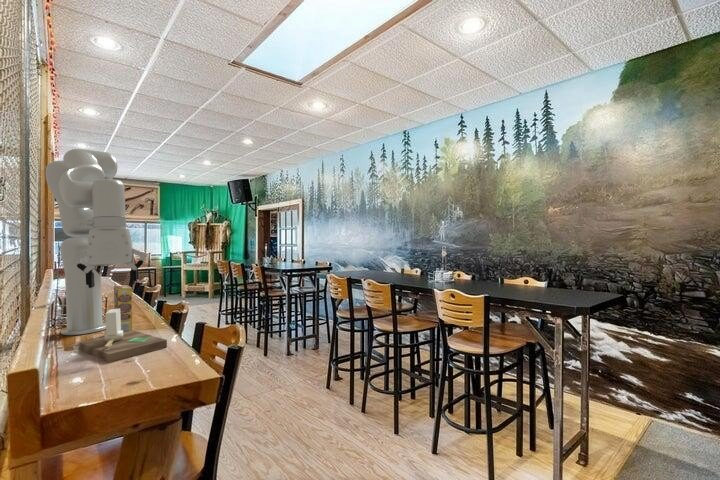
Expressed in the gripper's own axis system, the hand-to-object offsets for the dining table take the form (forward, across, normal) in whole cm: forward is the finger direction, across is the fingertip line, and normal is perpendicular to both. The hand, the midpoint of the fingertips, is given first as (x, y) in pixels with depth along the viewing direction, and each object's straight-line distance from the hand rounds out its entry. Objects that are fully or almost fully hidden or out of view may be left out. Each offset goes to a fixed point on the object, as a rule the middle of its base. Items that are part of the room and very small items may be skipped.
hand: (112, 285), depth 101 cm
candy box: (+17, 0, +17) cm, 24 cm away
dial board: (+17, +2, -1) cm, 18 cm away
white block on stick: (+15, 0, -2) cm, 15 cm away
